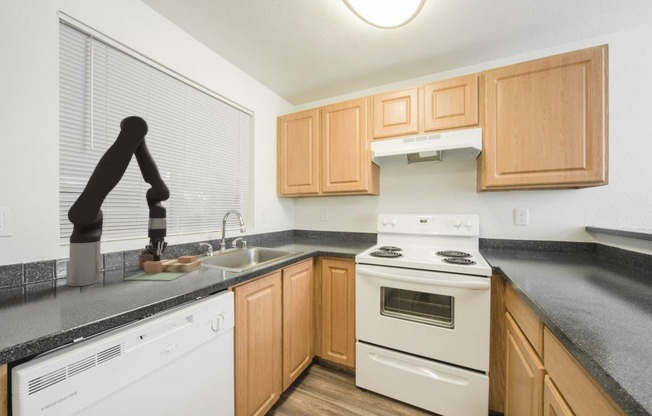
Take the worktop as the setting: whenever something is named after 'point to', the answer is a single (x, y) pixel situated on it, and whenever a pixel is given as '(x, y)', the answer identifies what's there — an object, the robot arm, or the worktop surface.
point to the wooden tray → (179, 266)
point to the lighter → (144, 258)
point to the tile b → (187, 259)
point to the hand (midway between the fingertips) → (156, 262)
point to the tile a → (153, 267)
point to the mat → (157, 276)
